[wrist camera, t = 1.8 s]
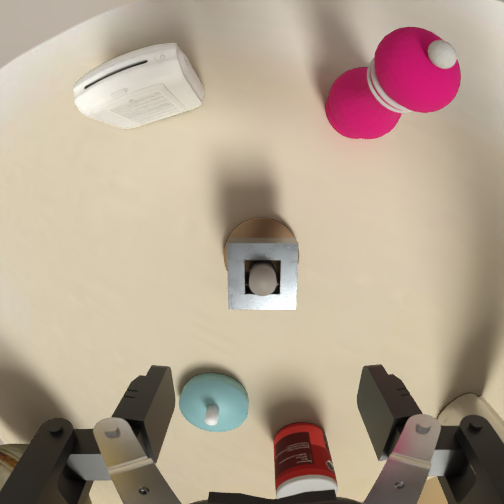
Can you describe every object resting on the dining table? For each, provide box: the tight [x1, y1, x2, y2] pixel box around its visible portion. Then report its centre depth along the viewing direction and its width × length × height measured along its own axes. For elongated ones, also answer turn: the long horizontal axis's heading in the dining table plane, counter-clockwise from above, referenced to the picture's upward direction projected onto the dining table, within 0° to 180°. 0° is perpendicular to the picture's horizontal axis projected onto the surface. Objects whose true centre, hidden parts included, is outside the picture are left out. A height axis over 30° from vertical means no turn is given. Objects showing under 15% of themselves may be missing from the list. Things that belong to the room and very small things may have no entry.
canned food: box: [274, 423, 338, 499], centre depth 36 cm, size 8×8×11 cm
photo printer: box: [73, 43, 205, 129], centre depth 26 cm, size 10×4×12 cm, turn 103°
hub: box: [179, 373, 249, 432], centre depth 38 cm, size 9×9×4 cm
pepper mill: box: [326, 27, 461, 139], centre depth 22 cm, size 7×7×20 cm
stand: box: [224, 218, 299, 296], centre depth 30 cm, size 8×8×10 cm
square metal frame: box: [227, 238, 298, 310], centre depth 28 cm, size 6×6×2 cm
